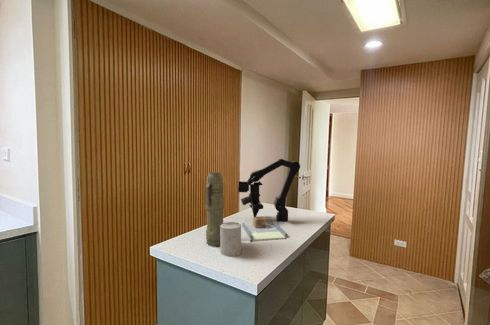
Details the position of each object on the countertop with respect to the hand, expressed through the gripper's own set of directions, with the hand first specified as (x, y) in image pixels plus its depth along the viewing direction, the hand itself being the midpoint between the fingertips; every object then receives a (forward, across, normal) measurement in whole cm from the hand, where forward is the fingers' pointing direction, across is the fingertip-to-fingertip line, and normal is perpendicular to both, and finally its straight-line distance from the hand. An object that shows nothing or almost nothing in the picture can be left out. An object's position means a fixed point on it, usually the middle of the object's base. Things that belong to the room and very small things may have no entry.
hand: (254, 217), depth 165 cm
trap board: (+4, +19, 0) cm, 19 cm away
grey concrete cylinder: (+4, +41, -21) cm, 46 cm away
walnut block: (+2, +12, 0) cm, 12 cm away
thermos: (+4, +29, -27) cm, 40 cm away
